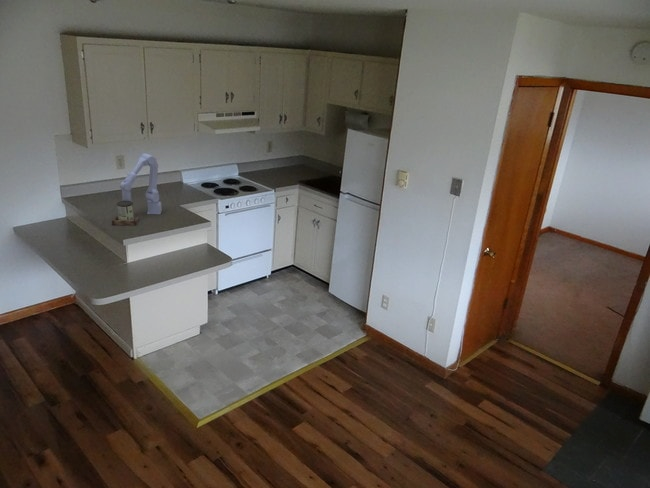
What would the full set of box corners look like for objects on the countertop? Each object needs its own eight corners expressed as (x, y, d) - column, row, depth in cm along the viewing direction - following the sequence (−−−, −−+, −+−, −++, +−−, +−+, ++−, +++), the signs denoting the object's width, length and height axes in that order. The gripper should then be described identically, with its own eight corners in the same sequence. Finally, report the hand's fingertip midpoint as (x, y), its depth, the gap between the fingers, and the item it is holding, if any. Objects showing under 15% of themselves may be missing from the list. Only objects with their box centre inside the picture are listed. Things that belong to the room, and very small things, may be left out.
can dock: (139, 220, 354) (138, 216, 352) (136, 225, 344) (136, 221, 343) (115, 220, 351) (115, 216, 350) (112, 225, 342) (111, 221, 341)
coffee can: (121, 219, 354) (119, 200, 348) (136, 219, 354) (134, 201, 349) (116, 224, 344) (114, 204, 339) (131, 224, 345) (129, 205, 339)
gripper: (123, 195, 356) (124, 213, 361) (118, 201, 343) (120, 219, 348) (133, 195, 357) (135, 213, 363) (129, 201, 344) (130, 219, 349)
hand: (128, 216), depth 355 cm, fingers closed
